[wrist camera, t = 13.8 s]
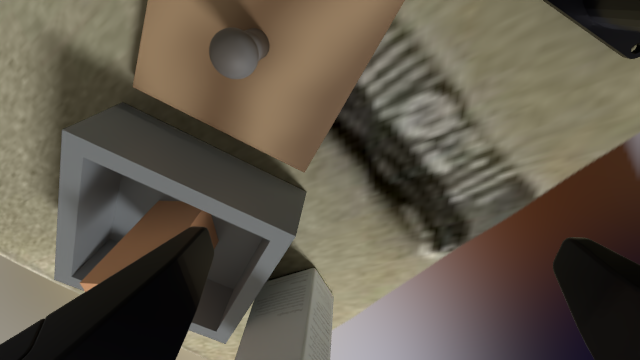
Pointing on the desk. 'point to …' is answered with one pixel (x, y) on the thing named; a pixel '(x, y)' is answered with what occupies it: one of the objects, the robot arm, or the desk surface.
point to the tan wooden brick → (150, 237)
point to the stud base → (261, 65)
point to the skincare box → (290, 320)
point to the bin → (171, 185)
